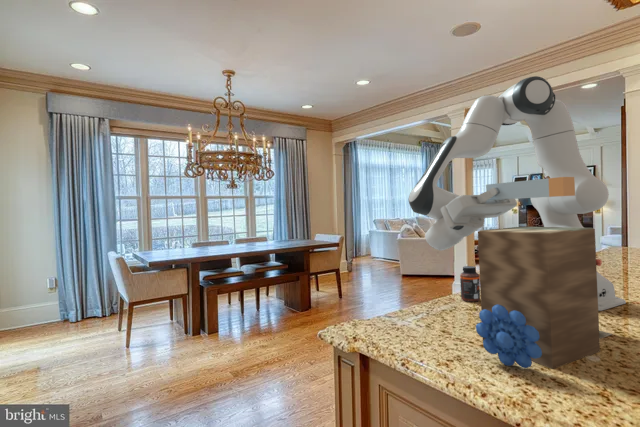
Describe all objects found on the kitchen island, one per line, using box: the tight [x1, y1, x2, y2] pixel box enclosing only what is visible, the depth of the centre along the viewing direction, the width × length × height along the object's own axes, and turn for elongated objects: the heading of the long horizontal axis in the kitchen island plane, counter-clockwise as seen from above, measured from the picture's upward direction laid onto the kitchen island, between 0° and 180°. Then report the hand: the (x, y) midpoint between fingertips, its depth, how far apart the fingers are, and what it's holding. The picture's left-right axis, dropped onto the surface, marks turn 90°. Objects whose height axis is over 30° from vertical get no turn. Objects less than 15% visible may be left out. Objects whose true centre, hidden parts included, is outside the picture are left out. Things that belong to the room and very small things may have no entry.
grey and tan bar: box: [485, 177, 575, 200], centre depth 83 cm, size 19×4×4 cm, turn 25°
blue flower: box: [475, 304, 542, 369], centre depth 69 cm, size 12×7×12 cm, turn 52°
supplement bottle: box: [459, 265, 481, 303], centre depth 119 cm, size 6×6×11 cm
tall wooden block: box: [477, 226, 601, 369], centre depth 78 cm, size 16×16×26 cm
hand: (504, 189), depth 89 cm, fingers closed on grey and tan bar, 4 cm apart
